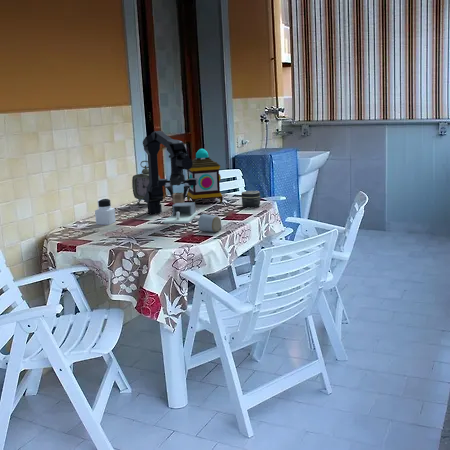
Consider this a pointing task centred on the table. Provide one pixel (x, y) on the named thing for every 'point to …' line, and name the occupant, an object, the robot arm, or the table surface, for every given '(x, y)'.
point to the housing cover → (184, 207)
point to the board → (180, 217)
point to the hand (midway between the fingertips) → (178, 199)
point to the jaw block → (178, 198)
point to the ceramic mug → (209, 223)
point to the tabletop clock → (141, 183)
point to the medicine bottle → (105, 213)
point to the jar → (250, 199)
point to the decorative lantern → (204, 178)
